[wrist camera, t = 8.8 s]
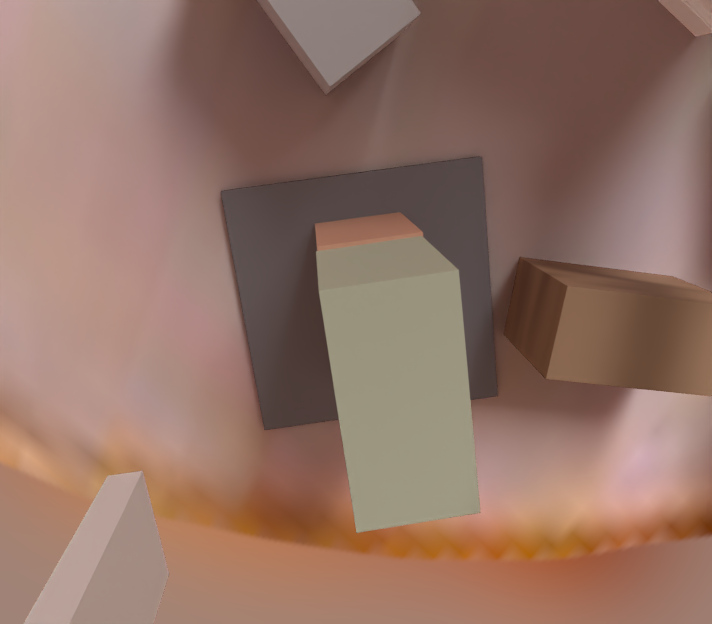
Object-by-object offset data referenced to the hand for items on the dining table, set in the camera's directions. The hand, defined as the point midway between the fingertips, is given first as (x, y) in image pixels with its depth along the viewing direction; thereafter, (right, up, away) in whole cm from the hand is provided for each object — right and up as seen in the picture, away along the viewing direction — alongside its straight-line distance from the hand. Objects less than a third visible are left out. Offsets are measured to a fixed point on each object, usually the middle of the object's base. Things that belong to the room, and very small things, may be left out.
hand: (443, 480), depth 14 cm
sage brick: (-1, +3, +11) cm, 11 cm away
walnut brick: (+10, +4, +18) cm, 21 cm away
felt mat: (-1, +4, +17) cm, 17 cm away
